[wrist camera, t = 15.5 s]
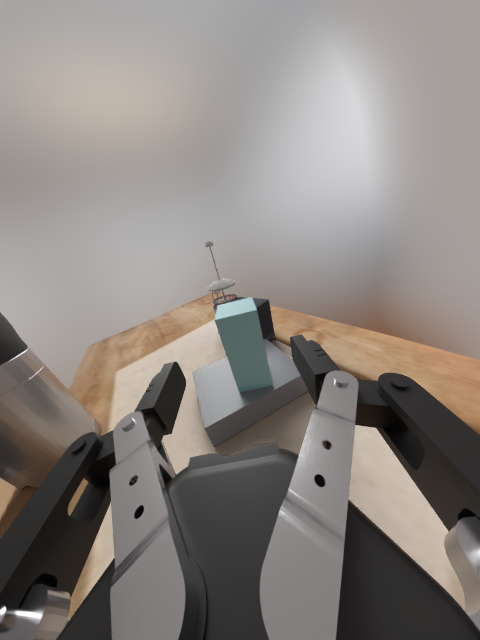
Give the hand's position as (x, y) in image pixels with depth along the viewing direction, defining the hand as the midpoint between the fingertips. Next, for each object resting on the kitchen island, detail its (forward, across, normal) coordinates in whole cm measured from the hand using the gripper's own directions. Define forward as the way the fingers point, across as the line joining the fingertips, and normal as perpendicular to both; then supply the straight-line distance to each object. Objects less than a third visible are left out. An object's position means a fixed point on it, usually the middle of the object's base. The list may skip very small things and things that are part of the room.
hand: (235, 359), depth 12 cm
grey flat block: (+12, +1, +16) cm, 20 cm away
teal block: (+11, 0, +12) cm, 16 cm away
